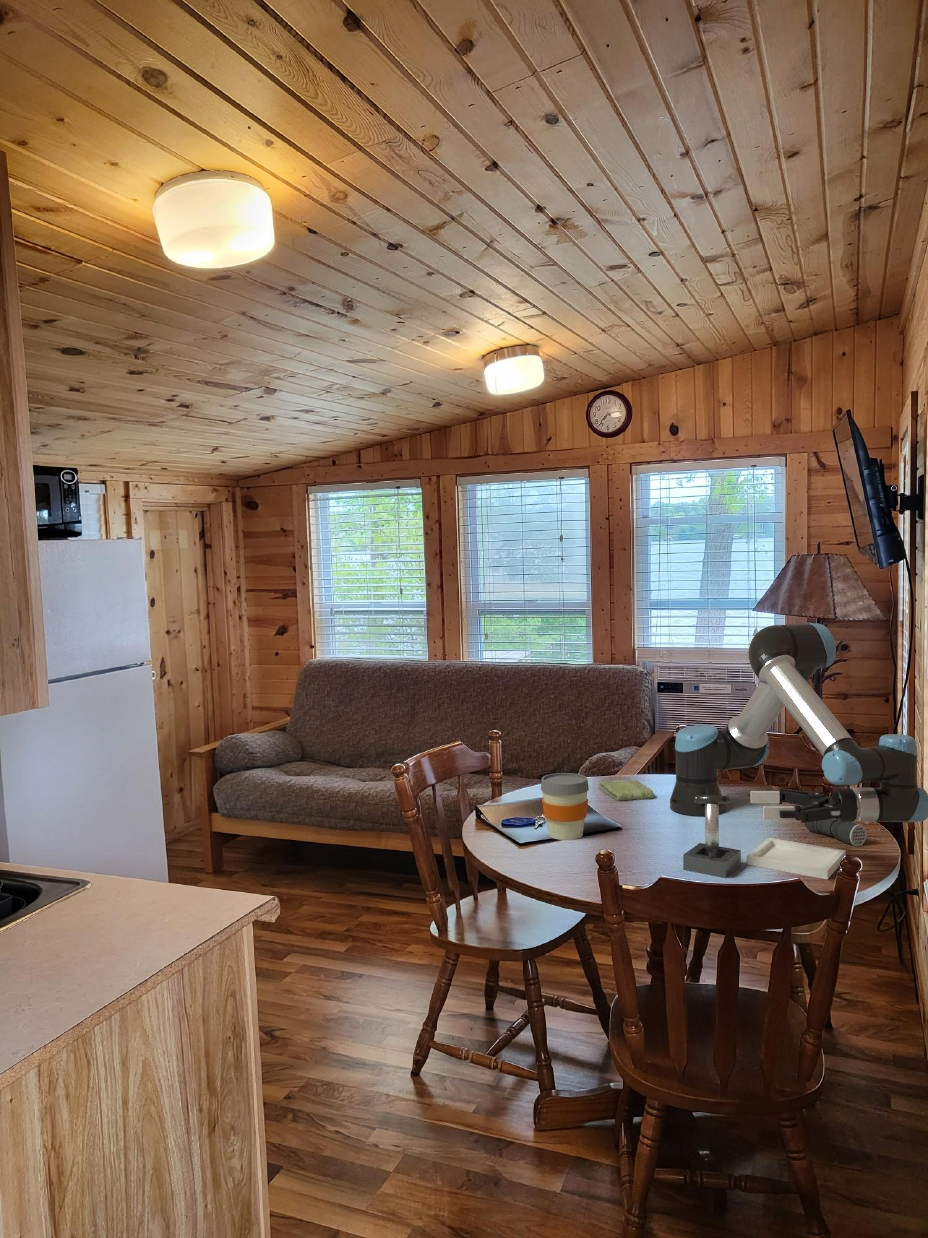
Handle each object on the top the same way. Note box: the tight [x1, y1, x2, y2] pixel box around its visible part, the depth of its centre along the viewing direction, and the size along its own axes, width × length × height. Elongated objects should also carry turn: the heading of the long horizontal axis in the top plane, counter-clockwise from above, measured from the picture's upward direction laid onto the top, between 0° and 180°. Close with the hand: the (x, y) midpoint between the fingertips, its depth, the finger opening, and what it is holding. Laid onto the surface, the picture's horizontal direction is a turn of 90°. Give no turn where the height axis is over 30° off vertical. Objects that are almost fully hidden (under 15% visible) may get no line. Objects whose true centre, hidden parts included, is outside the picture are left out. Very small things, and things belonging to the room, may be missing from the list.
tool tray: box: [746, 837, 847, 880], centre depth 205 cm, size 18×16×2 cm
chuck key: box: [694, 795, 731, 858], centre depth 202 cm, size 8×3×16 cm, turn 83°
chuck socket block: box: [682, 842, 742, 879], centre depth 203 cm, size 10×10×4 cm
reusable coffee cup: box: [540, 772, 589, 841], centre depth 230 cm, size 13×13×15 cm
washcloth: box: [599, 779, 655, 802], centre depth 269 cm, size 13×18×3 cm
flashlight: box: [804, 818, 868, 848], centre depth 222 cm, size 15×5×5 cm, turn 26°
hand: (756, 804), depth 200 cm, fingers open, 13 cm apart
